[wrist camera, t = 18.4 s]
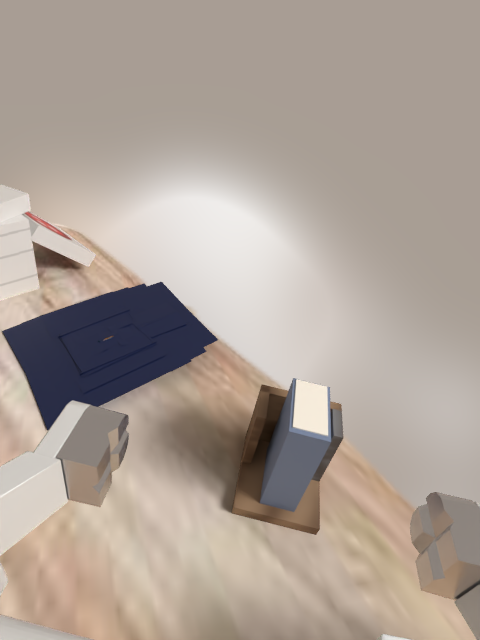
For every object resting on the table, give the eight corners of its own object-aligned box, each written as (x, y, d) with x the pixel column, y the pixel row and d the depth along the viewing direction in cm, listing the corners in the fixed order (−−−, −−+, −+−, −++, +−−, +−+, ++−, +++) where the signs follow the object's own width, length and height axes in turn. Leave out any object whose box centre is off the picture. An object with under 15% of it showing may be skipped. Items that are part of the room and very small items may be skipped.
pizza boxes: (102, 273, 87) (98, 194, 76) (-53, 324, 66) (-88, 226, 56) (55, 238, 95) (46, 162, 84) (-95, 274, 75) (-132, 180, 64)
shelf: (231, 513, 50) (248, 462, 43) (245, 436, 59) (261, 384, 52) (316, 534, 49) (346, 486, 42) (316, 453, 59) (341, 404, 52)
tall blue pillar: (259, 503, 50) (289, 430, 41) (266, 450, 56) (293, 377, 47) (294, 512, 49) (331, 441, 40) (297, 458, 56) (330, 386, 47)
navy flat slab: (223, 356, 70) (224, 342, 68) (53, 442, 56) (46, 428, 53) (157, 287, 84) (156, 273, 82) (6, 341, 69) (0, 326, 67)
